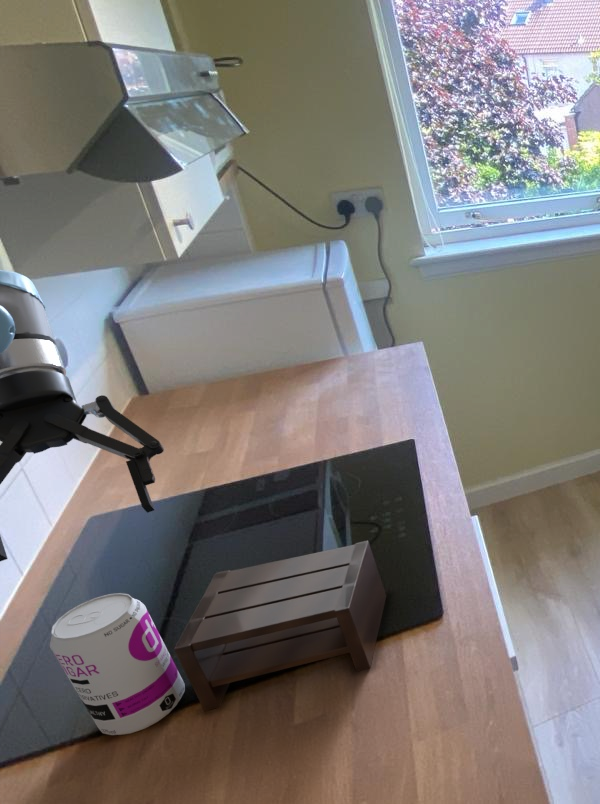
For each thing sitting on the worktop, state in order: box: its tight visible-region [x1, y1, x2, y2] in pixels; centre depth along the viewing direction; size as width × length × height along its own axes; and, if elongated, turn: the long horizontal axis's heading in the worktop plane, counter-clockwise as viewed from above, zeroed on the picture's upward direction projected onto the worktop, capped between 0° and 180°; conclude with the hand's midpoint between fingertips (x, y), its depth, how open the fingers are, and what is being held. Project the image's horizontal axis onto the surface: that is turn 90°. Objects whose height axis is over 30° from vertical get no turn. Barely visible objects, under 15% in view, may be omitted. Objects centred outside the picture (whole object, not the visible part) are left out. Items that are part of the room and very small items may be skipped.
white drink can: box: [49, 592, 186, 736], centre depth 86 cm, size 8×8×15 cm
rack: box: [173, 540, 387, 712], centre depth 95 cm, size 18×14×10 cm
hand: (77, 532), depth 89 cm, fingers open, 13 cm apart
